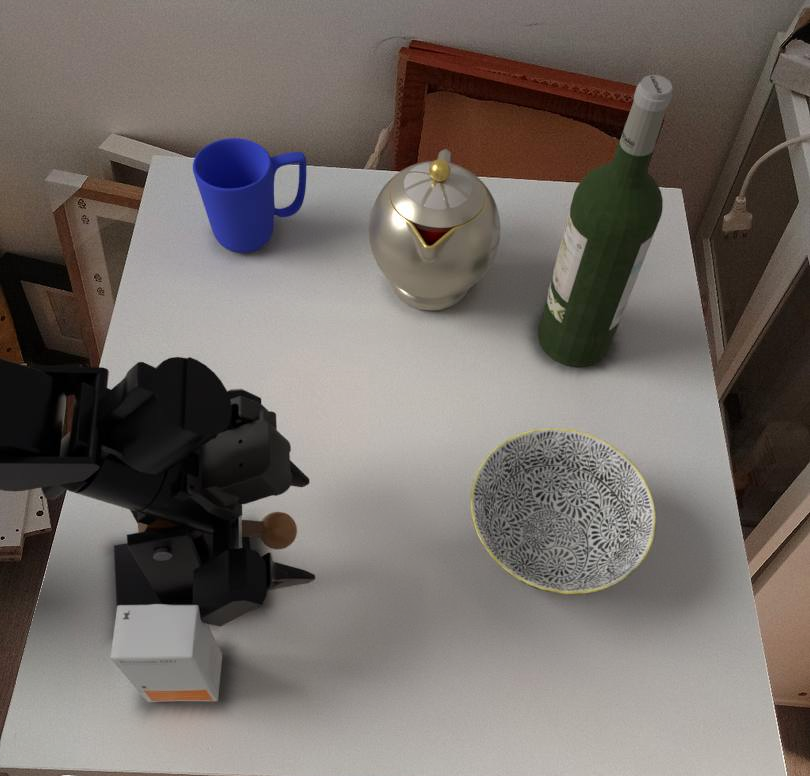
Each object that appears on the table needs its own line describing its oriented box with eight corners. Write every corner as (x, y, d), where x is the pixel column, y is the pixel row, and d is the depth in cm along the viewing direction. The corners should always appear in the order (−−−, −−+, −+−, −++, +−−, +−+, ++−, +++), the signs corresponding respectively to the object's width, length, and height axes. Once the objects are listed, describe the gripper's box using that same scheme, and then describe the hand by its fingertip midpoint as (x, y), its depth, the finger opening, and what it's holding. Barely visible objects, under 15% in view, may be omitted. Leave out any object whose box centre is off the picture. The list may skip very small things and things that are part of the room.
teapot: (484, 343, 89) (506, 225, 74) (359, 327, 89) (357, 207, 75) (497, 225, 98) (518, 100, 83) (383, 211, 98) (385, 84, 84)
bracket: (248, 528, 77) (227, 455, 66) (259, 607, 73) (239, 544, 62) (117, 550, 75) (72, 480, 64) (121, 633, 72) (75, 573, 60)
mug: (321, 243, 95) (316, 171, 86) (219, 269, 93) (203, 198, 84) (299, 196, 99) (292, 122, 90) (200, 220, 96) (183, 147, 88)
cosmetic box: (147, 704, 69) (106, 659, 58) (153, 654, 71) (115, 602, 60) (220, 703, 69) (193, 658, 58) (225, 653, 71) (199, 601, 61)
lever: (285, 524, 73) (300, 506, 70) (290, 556, 71) (305, 539, 69) (135, 513, 66) (146, 493, 64) (137, 549, 64) (149, 529, 62)
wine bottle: (534, 310, 91) (599, 51, 65) (605, 312, 91) (698, 54, 65) (539, 367, 87) (611, 116, 61) (613, 369, 88) (716, 120, 61)
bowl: (653, 613, 74) (680, 579, 68) (479, 635, 73) (490, 603, 66) (607, 462, 82) (627, 419, 75) (449, 479, 80) (456, 436, 74)
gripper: (212, 549, 51) (387, 600, 62) (214, 318, 60) (365, 397, 71) (117, 607, 57) (290, 644, 68) (131, 390, 66) (282, 453, 77)
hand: (309, 529), depth 71 cm, fingers open, 9 cm apart
